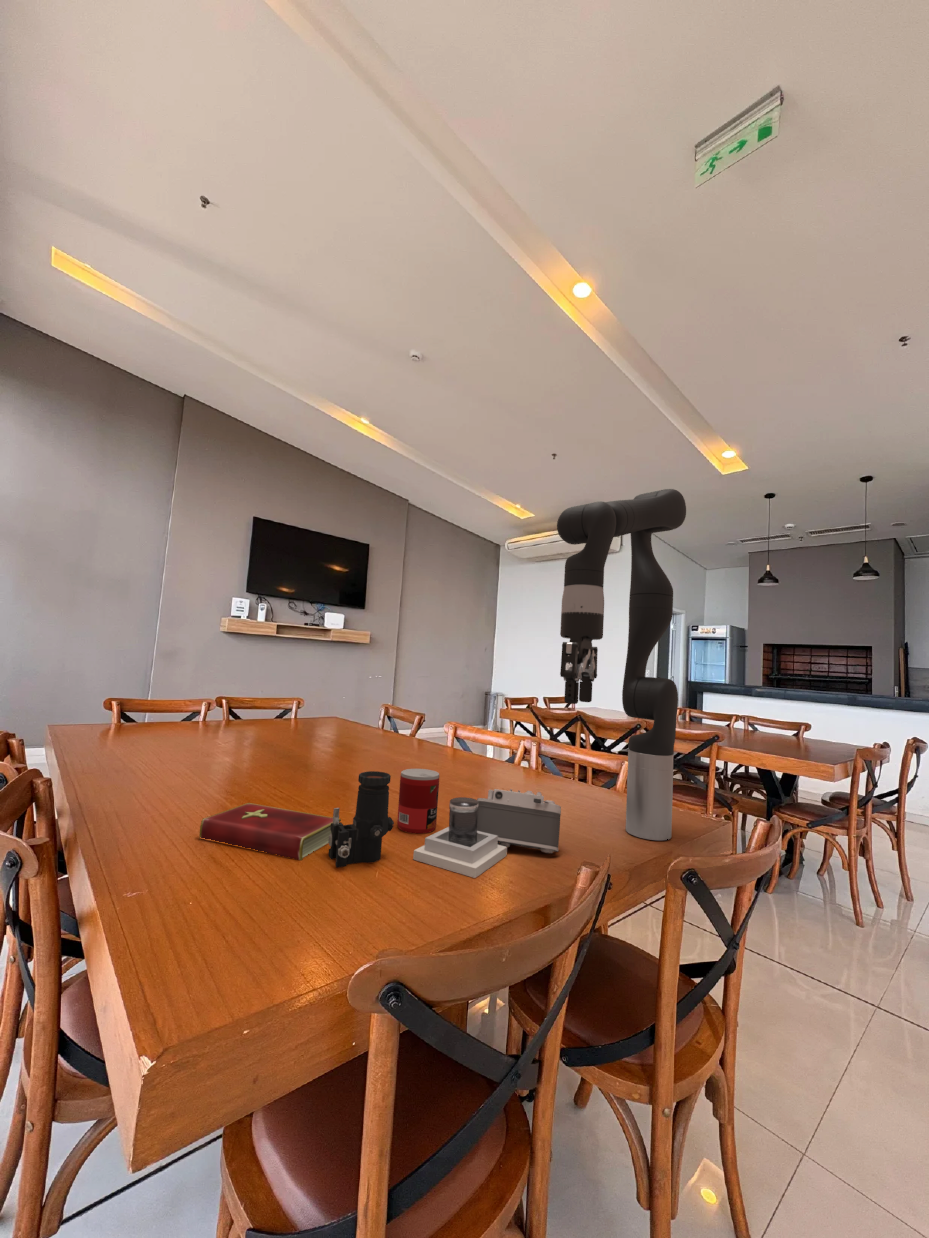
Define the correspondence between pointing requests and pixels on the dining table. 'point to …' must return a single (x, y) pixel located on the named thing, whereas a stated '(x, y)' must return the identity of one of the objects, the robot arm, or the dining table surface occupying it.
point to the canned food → (418, 800)
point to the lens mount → (461, 853)
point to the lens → (463, 821)
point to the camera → (520, 819)
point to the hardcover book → (269, 829)
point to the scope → (363, 823)
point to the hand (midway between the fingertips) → (578, 702)
